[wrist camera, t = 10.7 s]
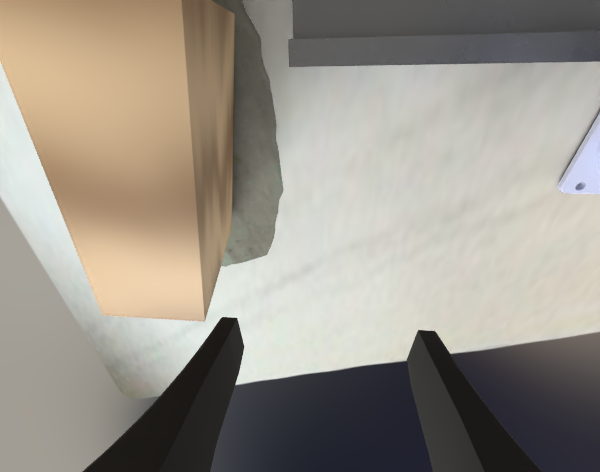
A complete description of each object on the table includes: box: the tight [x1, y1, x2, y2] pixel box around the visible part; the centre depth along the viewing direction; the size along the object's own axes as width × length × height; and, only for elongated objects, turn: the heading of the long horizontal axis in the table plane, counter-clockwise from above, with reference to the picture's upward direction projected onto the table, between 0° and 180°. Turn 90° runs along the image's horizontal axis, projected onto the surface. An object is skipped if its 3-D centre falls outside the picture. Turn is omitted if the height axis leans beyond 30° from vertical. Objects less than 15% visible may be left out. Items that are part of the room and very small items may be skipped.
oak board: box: [0, 0, 235, 321], centre depth 12 cm, size 12×4×8 cm, turn 171°
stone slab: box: [211, 0, 283, 267], centre depth 17 cm, size 22×3×10 cm
